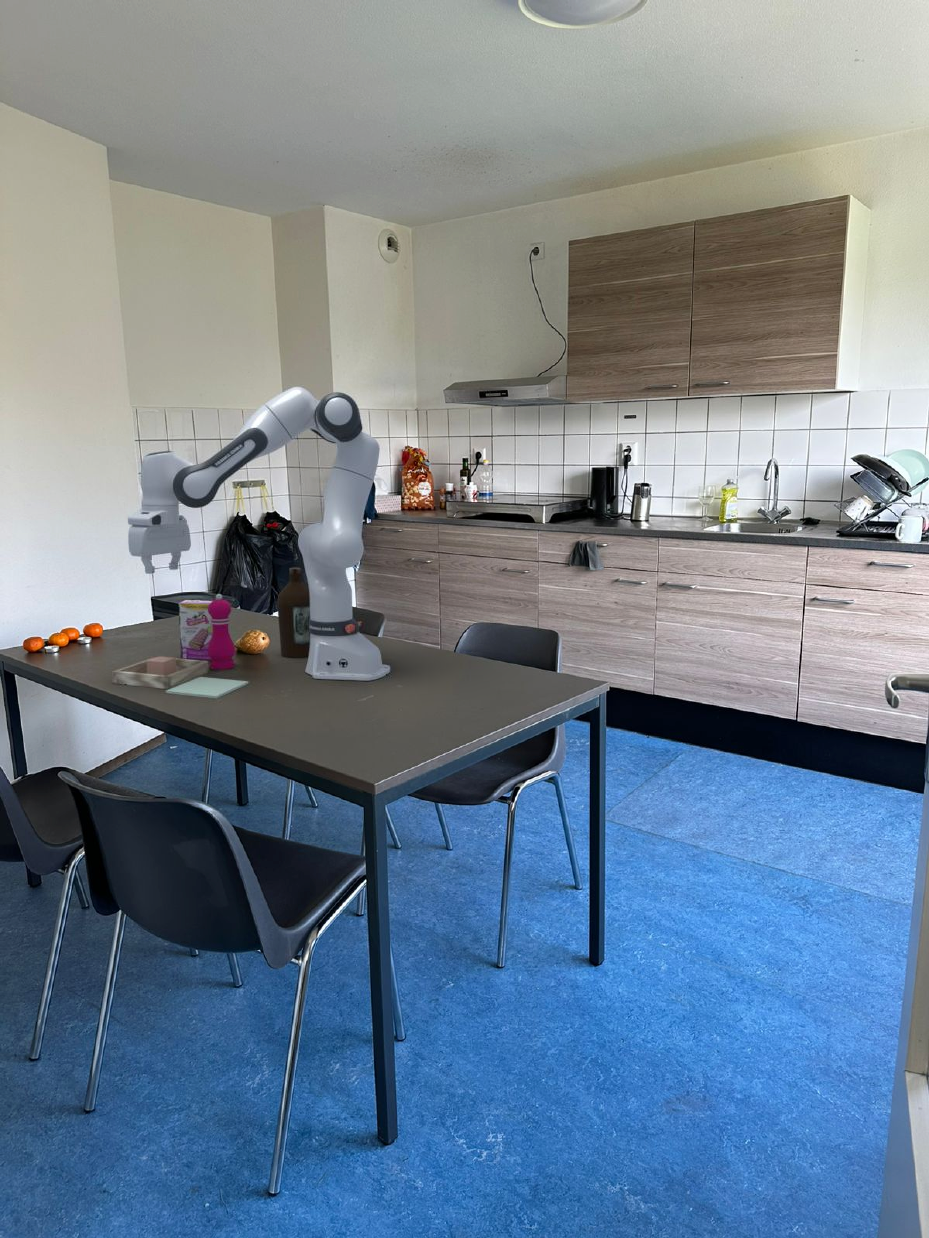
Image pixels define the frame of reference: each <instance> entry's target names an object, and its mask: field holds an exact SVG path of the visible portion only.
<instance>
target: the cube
mask: <svg viewBox="0 0 929 1238" xmlns="http://www.w3.org/2000/svg"><path fill="white" fill-rule="evenodd" d="M155 657H156V658H153V657H152V658H153V659H150V658H149V659H150V660H147V659H146V660H147V673H146V674H155V675H165V676H167V675H169V674H172V673H175V672H177V671H176V657H169V656H155Z"/></svg>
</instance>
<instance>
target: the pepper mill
mask: <svg viewBox="0 0 929 1238" xmlns="http://www.w3.org/2000/svg"><path fill="white" fill-rule="evenodd" d="M211 601H212V602H211V603H210V604H209V606H208V613H209V615H210V616H211V617H212V618H211V619H210V620H211V622H210V623H211V624H212V627H213V633H212V638H211V640H210V643H209V646H208V655H209V657H210V658H211V659H212V660H211V661H209V669H211V670H229V669H232V668H234V667H235V660H234V659H233V657H234V656H235V654H236V647H235V644H234V642H233V641H234V640H233V639H232V637H231V635H230V632H229V624H230V623H231V622H230V617H229V616H230V614H231V612H232V606H231V604H230V603H229V602H228V601H227V600H225V599H223V595H222V594H221V593H217V594H216V595H215V600H211Z"/></svg>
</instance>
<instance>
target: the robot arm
mask: <svg viewBox="0 0 929 1238" xmlns="http://www.w3.org/2000/svg"><path fill="white" fill-rule="evenodd" d="M307 430H310V431H311V432H312V433H314V434H316V435H317V436H318V437H320V438H322V439H323V440H324V441H326V442H328V443H332V444H336V450H337V451H336V456H335V458H334V463H333V465H332V468H331V471H330V475H329V477H328V481H327V484H326V487H325V490H324V493H323V501H324V508H323V509H324V511H323V521H322V522H315V523H312V524H310V525H308V526H306V527H304V528H303V529H302V530H301V532H300V533H299V536H298V538H297V545H298V549H299V551H300V554H301V555H302V559H303V560H302V561H303V566H304V569H305V575H306V578H307V584H308V585H307V586H308V589H309V594H310V619H309V638H310V649H309V656H308V658H307V664H306V667H305V670H304V672H305V673H307V674H308V675H310V676H312V678H313V679H315V680H316V679H318V680H339V681H340V680H344V681H364V682H365V681H369V682H370V681H374V680H378V679H381V678H383V677H385V676H386V674H387V675H388V674H389V673H391V666H390V665H388V664H383V661H382V654H381V651H380V649H379V647H378V646H376V645H375V644H374V643H373V642H372V641H370V640H369V638H366V636H364V635H363V634H362V633H360V630H359V629H360V626H362V621H357V620H356V619H355V618H354V617H353V589H352V585H351V584H350V582H349V579H348V576H347V572H346V569H348V568H352V567H354V566H356V565H357V564H358V563H359V562H360V561H361V560H362V557H363V555H364V550H365V547H364V542H363V538H362V535H363V534H362V532H363V522H364V515H365V510H366V506H367V502H368V499H369V495H370V492H371V490H372V487H373V484H374V481H375V476H376V473H377V468H378V465H379V458H380V449H381V448H380V444H379V443H378V441H377V440H376V439H375V438H374V437H373V436H371V435H370V434H369V433H368V434H367V433H366V432H364V431H363V424H362V419H361V413H360V410H359V406H358V404H357V403H356V400H355V399H353V397H351V396H350V395H348V394H346V393H344V392H338V391H337V392H336V391H335V392H331V393H327V394H326V395H325V396H324V397H323V398H322V399H321V400H319V399H317V398H315V397H314V396H313V394H311V392H310V391H308V390H307V389H305V388H304V387H301V386H293V387H290V388H289V389H287V390H285V391H283V392H281V393H279V394H278V395H276V396H274V397H273V398H271V399H269V400H268V401H267V402H265V403H264V404H263V405H262V406H260V407H259V408H258V409H256V410H255V412H254V413H253V414H251V415H250V417H249V418H248V419H247V420H246V421H245V423H243V426H242V427H241V429H240V430H239V433H238V434H237V435H236V437H234V439H233V440H232V441H231V442H229V443H228V444H227V445H226V446H224V447H222V448H221V449H220V450H219V451H217V452H216V453H215V454H213V456H211V457H210V458H208V459H207V460H205V461H204V462H201V463H193V462H190V461H189V460H187V459H184V458H182V457H181V456H179V455H178V454H176V453H175V452H174V451H171V450H165V451H164V450H163V451H157V452H151V453H148V454H147V455H145V456H144V457H143V459H142V460H141V466H140V489H141V492H142V500H141V509H139V510H137V511H136V512H134V513H132V514H131V515H129V516H128V517H127V523H128V525H130V527H129V528H128V532H127V533H128V536H127V537H128V551H129V553H130V555H131V556H133V557H141V558H140V559H141V560H140V561H141V562H142V564H143V565H144V572H145V574H147V575H151V574H155V572H156V571H155V569H156V568H155V566H154V565H153V564H152V560H153V556H157V555H165V554H170V556H172V557H171V560H170V562H169V563H168V569H169V570H171V571H176V570H179V563H180V560H181V557H182V552H188V551H190V549H191V546H192V542H191V531H190V527H189V524H188V521H187V519H186V518H185V516H184V515H180V509H179V508H180V505H179V503H181V504H182V505H184V506H185V507H188V508H190V509H191V508H192V509H200V508H203V507H206V506H207V505H209V504H211V503H212V501H214V499H215V497H216V495H217V493H218V491H219V488H221V486H222V484H224V482H225V481H227V480H228V479H229V478H230V477H232V476H233V475H234V474H235V473H237V472H238V471H239V470H241V469H242V468H243V467H245V466H246V465H248V464H249V463H250V462H252V461H253V460H256V459H259V458H260V457H261V458H262V457H265V456H267V455H269V454H271V453H274V452H276V451H278V450H279V449H281V448H283V447H284V446H286V445H287V444H289V443H290V442H292V440H294V439H295V438H297V437H298V436H299V435H301V434H302V433H303V432H306V431H307Z"/></svg>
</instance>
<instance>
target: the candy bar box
mask: <svg viewBox="0 0 929 1238" xmlns="http://www.w3.org/2000/svg"><path fill="white" fill-rule="evenodd" d="M212 601H213V600H198V599H197V600H195V599H194V600H192V599H185V600H183V601H180V602H178V618H179V620H178V621H179V639H180V659H189V660H200V661H209V662H210V661H211V660H212V659H211V658H210V657H209V655H208V646H209V643H210V640H211V638H212V633H213V627H212V624H211V623H210V622H211V620H210V619H211V618H212V617H211V616H210V615H209V613H208V606H209V604H210V603H211V602H212Z"/></svg>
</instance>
